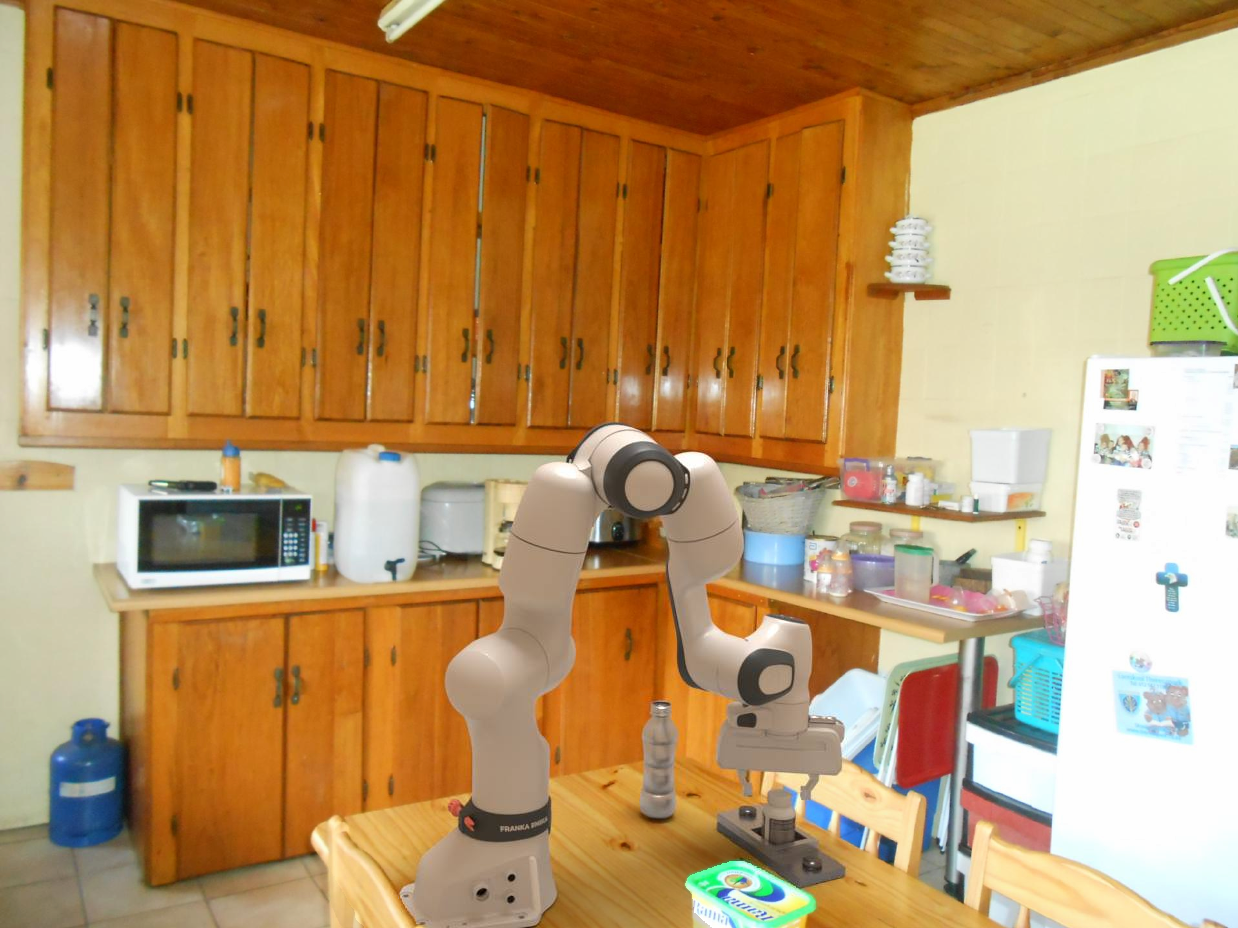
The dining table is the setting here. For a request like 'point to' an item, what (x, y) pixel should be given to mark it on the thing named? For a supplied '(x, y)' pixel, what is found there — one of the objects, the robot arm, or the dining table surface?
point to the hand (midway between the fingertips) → (776, 796)
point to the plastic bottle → (659, 762)
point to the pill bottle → (778, 818)
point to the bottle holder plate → (779, 848)
